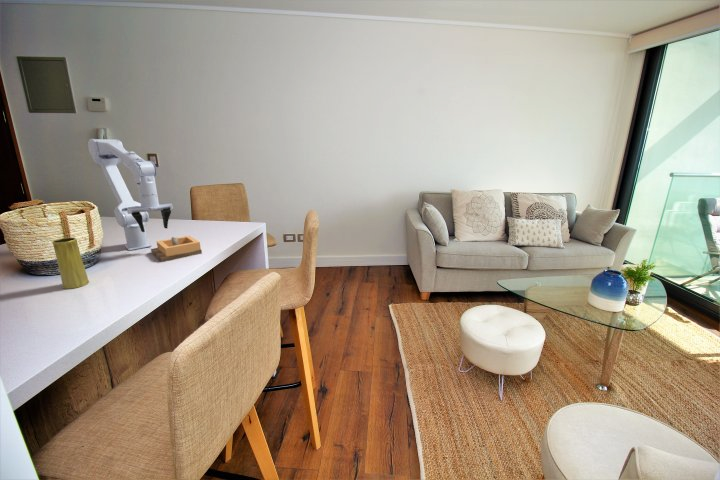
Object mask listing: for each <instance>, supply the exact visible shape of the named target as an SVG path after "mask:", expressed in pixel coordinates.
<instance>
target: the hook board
mask: <svg viewBox="0 0 720 480" xmlns="http://www.w3.org/2000/svg"><path fill="white" fill-rule="evenodd" d="M177 238H178V237H174V236H172V237H171V238H170V239H172V245H173V246H175V245H178V239H177ZM150 252H151V254H153V255H154V257H155V258H157V259H158V260H159V261H160V262H161V263H163V262H169V261H173V260H178V259H182V258H187V257H191V256H195V255H196V256H197V255H200V254H201V255H202V254H203V252H202V249H200V250H195V251H190V252H186V253H181V254H176V255H171V256H166V255H164V254H163V253H162V252H161V251H160V250H159V249H158V247H154V248H151V249H150Z"/></svg>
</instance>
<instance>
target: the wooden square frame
mask: <svg viewBox="0 0 720 480" xmlns="http://www.w3.org/2000/svg"><path fill="white" fill-rule="evenodd" d="M176 238H177V239H178V245H175V246H173V245H172V239H171V238H168V239H163V240H158V241H157V240H156V246H157V247H156V248H158V249H159V250H160V251H161V252H162V253H163V254H164V255H166V256H171V255H176V254H181V253H186V252H190V251H195V250H200V249H201V243H200V242H201V241H199V240H197V239H196V238H194V237H192V236H191V235H185V236H180V237H176ZM201 250H202V249H201Z"/></svg>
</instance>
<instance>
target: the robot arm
mask: <svg viewBox="0 0 720 480" xmlns="http://www.w3.org/2000/svg"><path fill="white" fill-rule="evenodd" d="M87 148H88V152H89V154H90V156H91V158H92V160H93V162H94V163H95V164H96V165H99V167H100V168H101V170H102V172H103V174H104V176H105V178H106V180H107V183H108V184H109V187H110V189H111V191H112V193H113V195H114V197H115V198H116V201H117V203H118V205H117V206H116V207H115V208H114V210H113V213H114V216H115V220H116V222H117V224H118V226H119V227H121V228H123V231H124V236H125V239H126V243H124V244H123V245H124V247H125V248H126V249H127V250H128V251H133V250H139V249H145V248H151V247H152V244H151V243H150V242H149V239H148V235H147V234H148V233H147V229H146V225H147V223H148V222H149V219H150V217H149V215H150V214H149V212H157V211H160V213H161V216H162V223H163V228H164V229H168V224H169V220H170V216H171V213H172V210H173V209H174V206H173V203H162V204H161V203H160V201H159V195H158V190H157V184H156V179H155V177H156V176H157V174H158V169H157V165H156V164H155V163H154V161H152V160H145V159H143V158H142V157H140V156H139V155H138V154H136V152H135V151H128V150H126V149H125V147H124V146H123V142H122V140H121V141H120V140H119V139H104V138H102V139H99V138H98V139H97V138H90V139H89V140H88V142H87ZM120 163H121V164H122V165H124V166H125V167H126V168H127V169H129V170H130V173H131V174H132V176H133V180H134V183H136V186H137V191H138V195H139V201H140V202H138V201H135V200H134V198H133V197H132V194H131V192H130V191H129V189H128V187H127V184H126V182H125V180H124V179H123V177H122V174H121V173H120V170H119V168H118V167H117V165H118V164H120Z"/></svg>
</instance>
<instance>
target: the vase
mask: <svg viewBox="0 0 720 480" xmlns="http://www.w3.org/2000/svg"><path fill="white" fill-rule="evenodd" d="M52 245H53V250H54V255H55V257H56V261H57V267H58V270H59V275H60V278H61V280H60V281H61V284H62V288H64V289H67V290H71V289H78V288H81V287H84V286H86V285H88V284H89V283H90V279H89V278H88V275H87V271H86V268H85V264H84V261H83V258H82V255H81V252H80V249H79V248H80V247H79V243H78V240H77V238H76V237H63V238H57V239H54V240H52Z"/></svg>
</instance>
